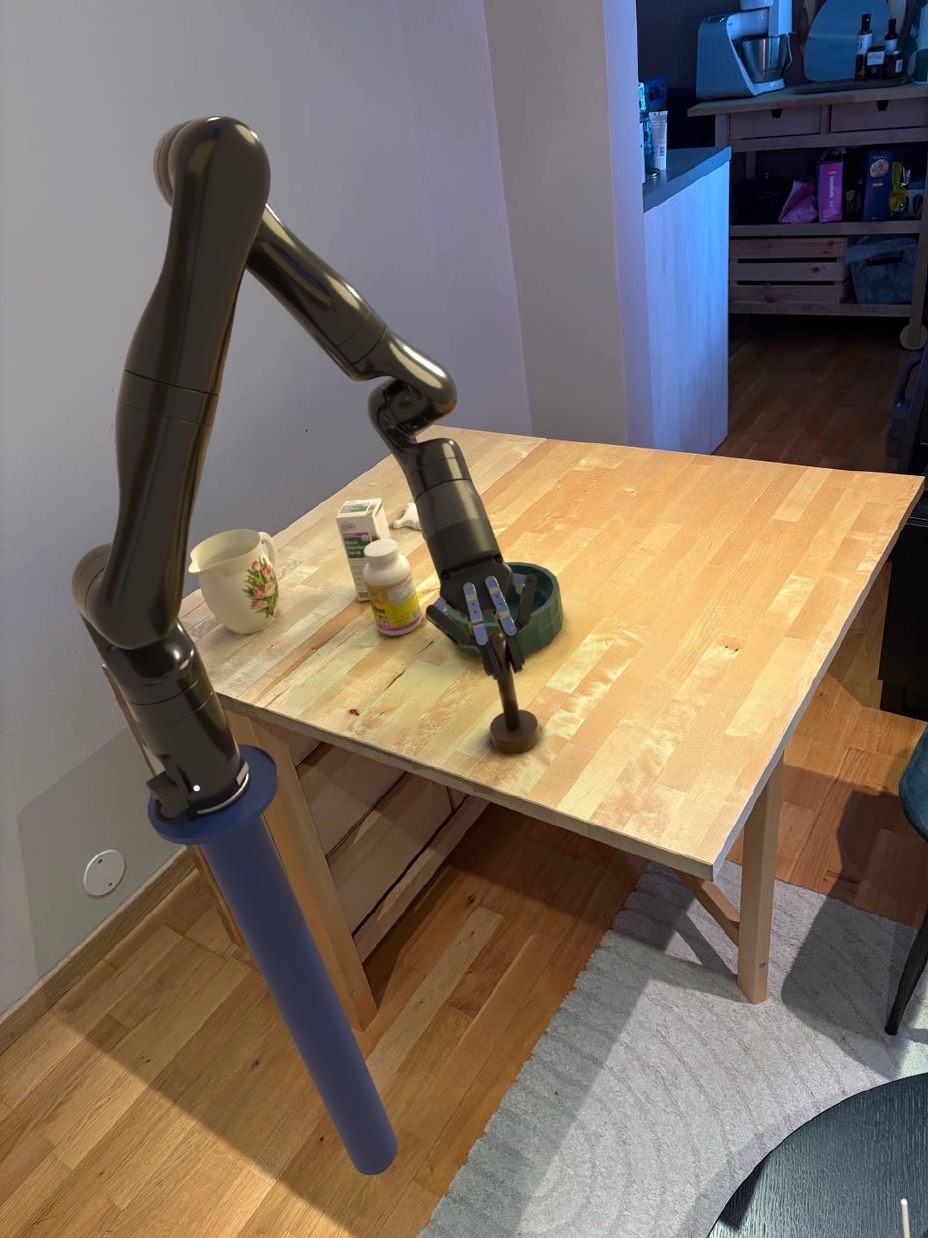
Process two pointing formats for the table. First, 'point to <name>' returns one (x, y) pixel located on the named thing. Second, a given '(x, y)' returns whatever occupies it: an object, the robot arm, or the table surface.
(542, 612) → the bowl
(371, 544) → the supplement bottle
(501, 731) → the brown peg on disc
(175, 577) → the robot arm
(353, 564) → the syrup box
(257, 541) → the pitcher
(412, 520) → the acanthus leaf ornament
